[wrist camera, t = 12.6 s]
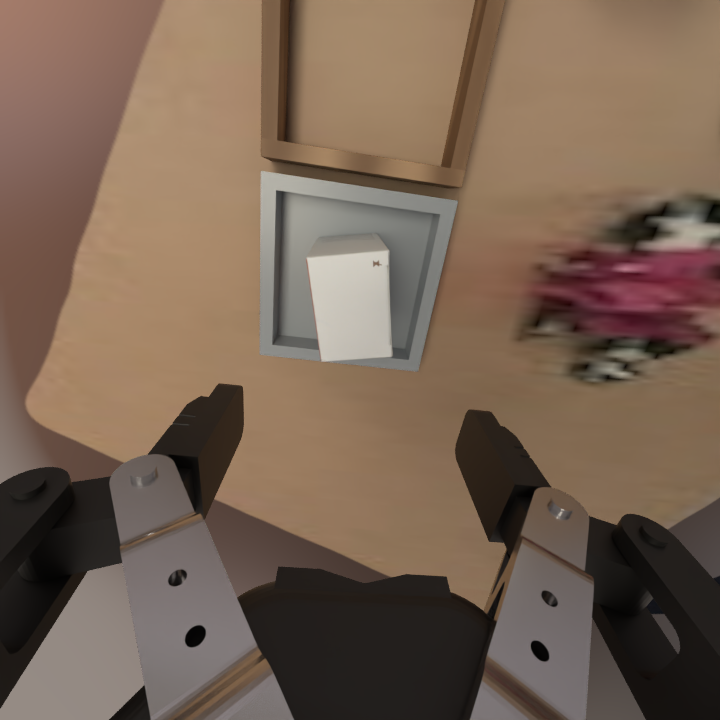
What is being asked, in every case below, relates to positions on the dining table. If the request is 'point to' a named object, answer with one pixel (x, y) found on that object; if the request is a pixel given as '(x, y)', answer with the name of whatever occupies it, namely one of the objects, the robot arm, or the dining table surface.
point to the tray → (336, 218)
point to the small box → (351, 296)
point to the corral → (446, 176)
